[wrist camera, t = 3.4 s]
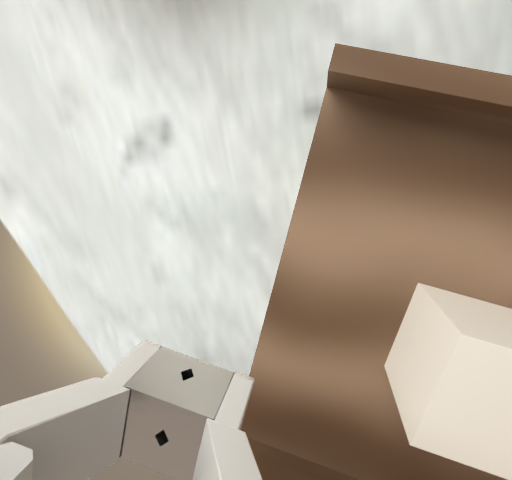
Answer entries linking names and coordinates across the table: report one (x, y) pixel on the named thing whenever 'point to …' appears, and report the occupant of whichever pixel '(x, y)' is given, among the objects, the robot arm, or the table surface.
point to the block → (455, 378)
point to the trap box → (379, 260)
